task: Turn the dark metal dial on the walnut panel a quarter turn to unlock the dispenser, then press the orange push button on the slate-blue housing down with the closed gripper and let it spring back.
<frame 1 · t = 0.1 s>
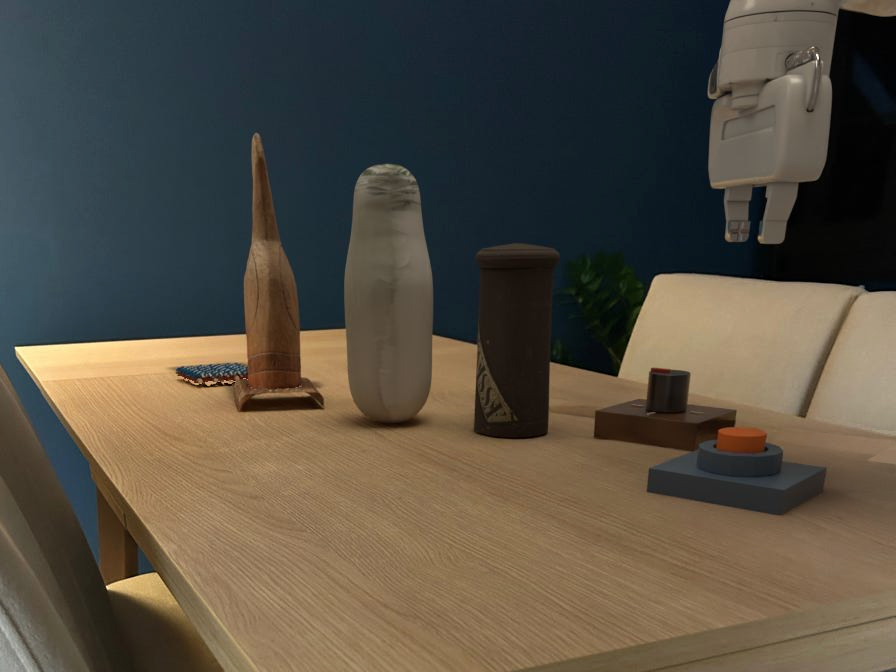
hand: (752, 242, 86), 20 cm above the table, tool pointing down, fingers open, 8 cm apart
orange push button: (741, 441, 84), point 4 cm above the table, slide at 0.1 cm
woven mat: (219, 382, 148), on the table
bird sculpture: (278, 405, 129), on the table
container: (511, 433, 111), on the table
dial: (668, 389, 106), point 5 cm above the table, hinge at 0.0°
dial panel: (663, 437, 108), on the table
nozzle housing: (734, 492, 86), on the table
grey rounded cylinder: (390, 422, 117), on the table
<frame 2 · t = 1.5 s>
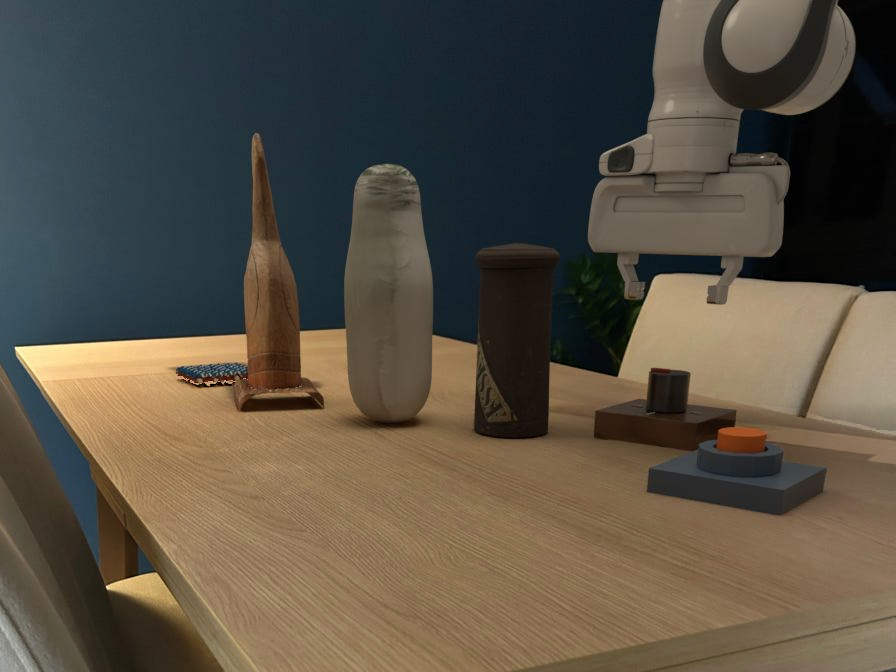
hand: (673, 301, 102), 14 cm above the table, tool pointing down, fingers open, 8 cm apart
nothing on the table moved.
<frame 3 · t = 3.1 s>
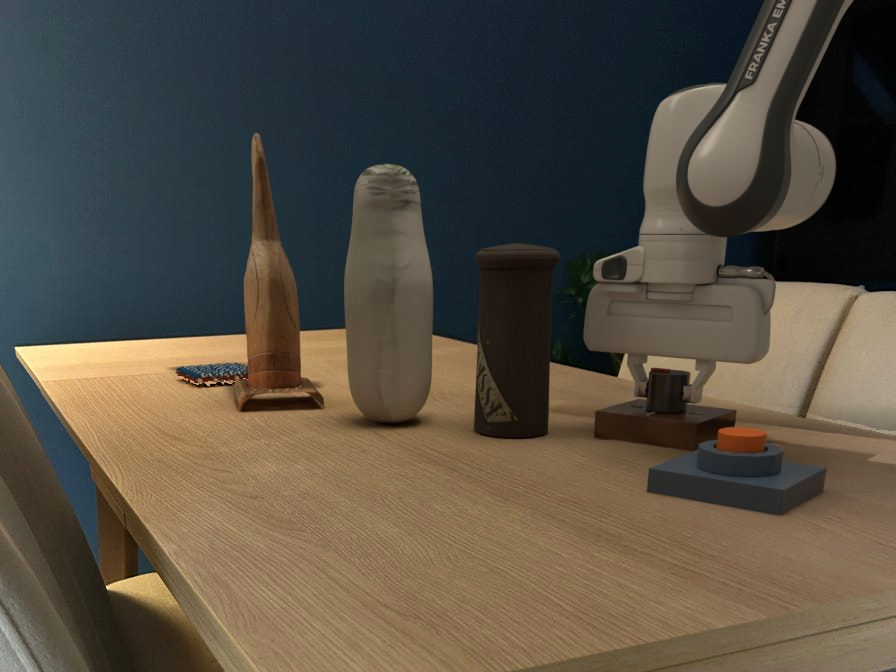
hand: (666, 399, 106), 4 cm above the table, tool pointing down, fingers closed on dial, 4 cm apart
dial: (668, 389, 106), point 5 cm above the table, hinge at -0.1°, touching gripper
everything else where it was.
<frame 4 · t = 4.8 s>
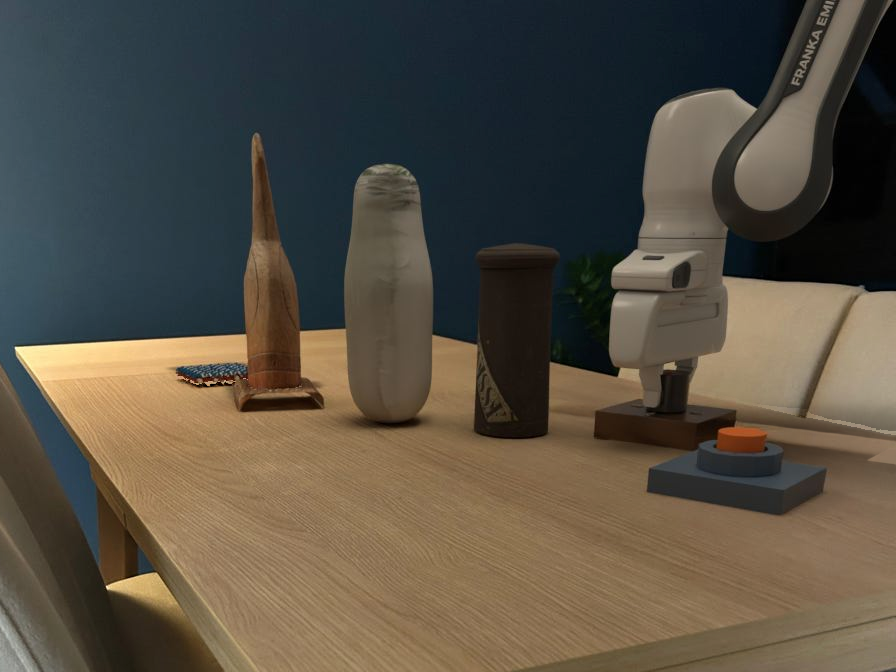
hand: (665, 402, 106), 4 cm above the table, tool pointing down, fingers closed on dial, 4 cm apart
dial: (668, 389, 106), point 5 cm above the table, hinge at 89.5°, touching gripper
everything else where it was.
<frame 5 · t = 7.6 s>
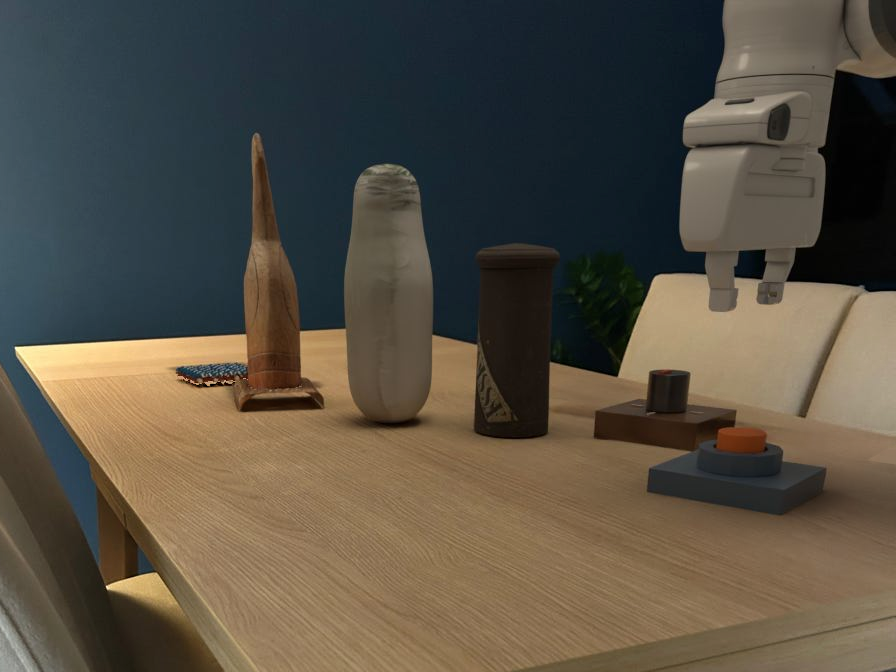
hand: (746, 307, 83), 15 cm above the table, tool pointing down, fingers open, 8 cm apart
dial: (668, 389, 106), point 5 cm above the table, hinge at 89.3°
everything else where it was.
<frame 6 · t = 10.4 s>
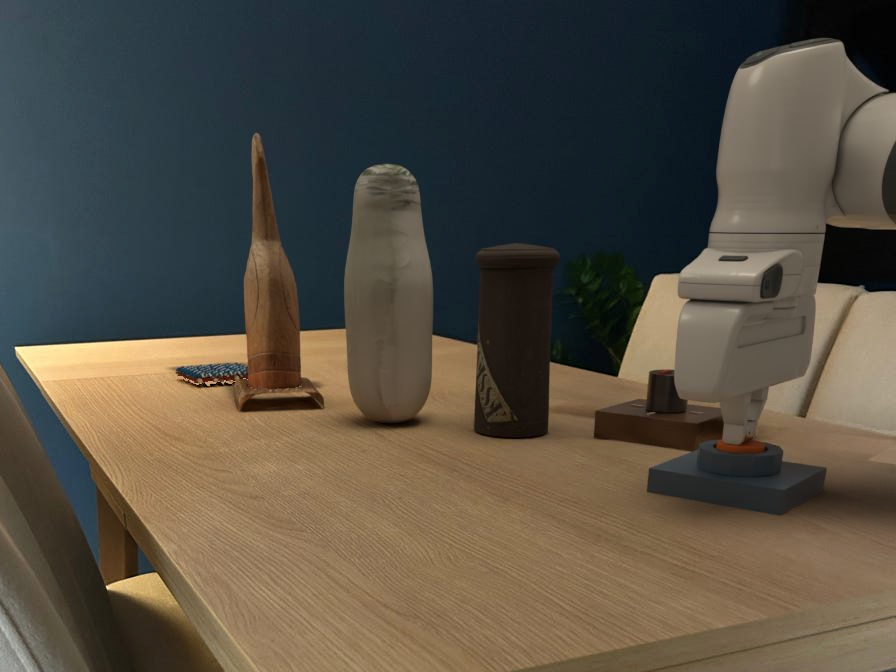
hand: (738, 442, 84), 4 cm above the table, tool pointing down, fingers closed, pressing on orange push button
orange push button: (739, 452, 84), point 4 cm above the table, slide at -0.9 cm, touching gripper
everything else where it was.
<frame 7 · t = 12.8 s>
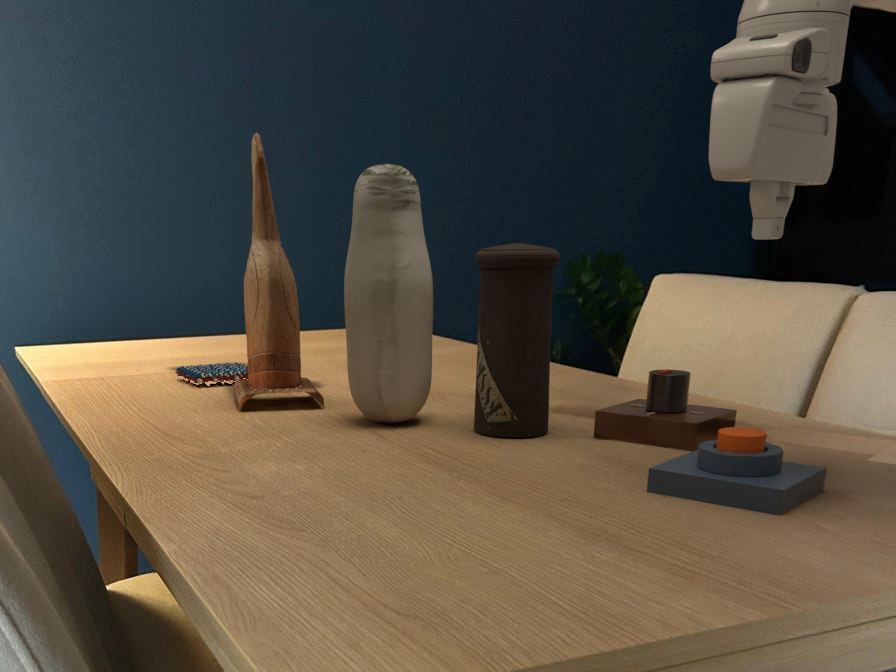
hand: (766, 239, 87), 21 cm above the table, tool pointing down, fingers closed
orange push button: (741, 441, 84), point 4 cm above the table, slide at 0.1 cm
everything else where it was.
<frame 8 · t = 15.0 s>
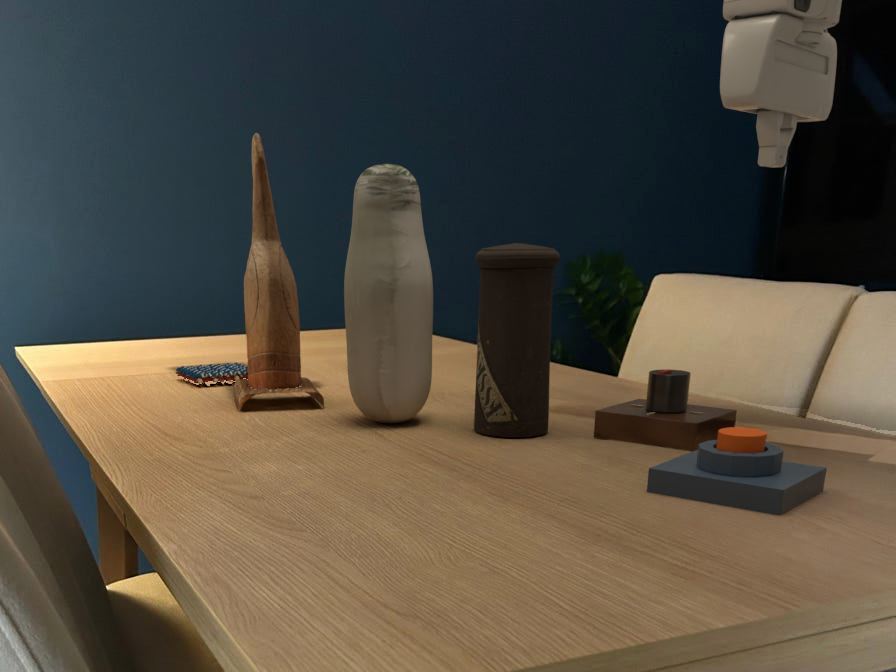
hand: (771, 166, 98), 27 cm above the table, tool pointing down, fingers closed
nothing on the table moved.
at the end: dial at +89° (first picture: +0°); orange push button pushed in 1.0 cm at the most during the clip, back to where it started at the end; orange push button slide at 0.1 cm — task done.
